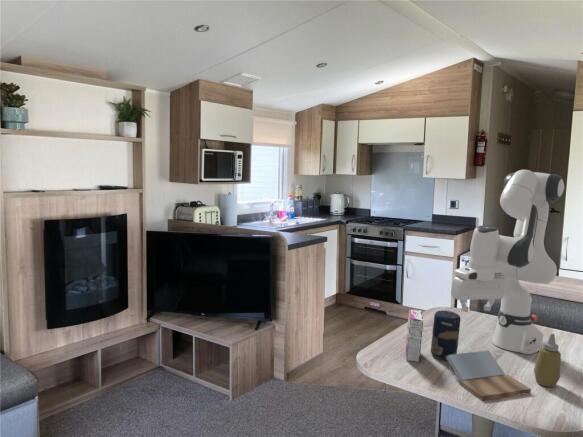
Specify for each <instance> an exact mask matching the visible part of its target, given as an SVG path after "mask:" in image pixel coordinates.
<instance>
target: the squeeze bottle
mask: <svg viewBox="0 0 583 437" xmlns="http://www.w3.org/2000/svg"><path fill="white" fill-rule="evenodd" d="M543 342H544V343H543V347H542V348H540V349H539V352H537V353H538V355H537V357H536V361H535V365H534V369H533V373H534V377H535V382H536V383H537V384H538V383H539V385H540V384H541V385H540V386H542V385H543V387H546V386H548V387H547V388H554V387H556V385H557V383H558V382H559V380H560V378H561V360H562V359H561V358H562V357H561V354H562V353H561V352H560V351H559V349H560V348H559V344H557V343H556V336H555V333H550V335H549V336H548V339H547V341H543ZM553 386H554V387H553Z"/></svg>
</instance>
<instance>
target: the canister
mask: <svg viewBox="0 0 583 437" xmlns="http://www.w3.org/2000/svg"><path fill="white" fill-rule="evenodd" d="M461 320H462V319H461V316H460V315H459V314H458V313H457V312H453V311H450V310H437V311H436V312H435V313H434V317H433V324H432V335H431V336H432V337H431V343H430V344H431V346H430V353H431V355H433V356H434V357H435V358H437V359H440V360H447V358H446V357H447V356H448V355H453V354H458V346H459V337H460V328H461ZM447 361H448V360H447Z"/></svg>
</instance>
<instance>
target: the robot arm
mask: <svg viewBox="0 0 583 437" xmlns="http://www.w3.org/2000/svg"><path fill="white" fill-rule="evenodd" d="M502 189H503V190H502V193H501V194H500V198H499V204H500V207H501V209H502V210H503V211H504V212H505V213H506V215H509V216H510V217H511V218H514V219H516V221H515V225H514V226H515V227H514V230H513V237H512V236H507V235H506V236H505V235H502V234H499V229H498V227H495V226H493V225H478V226H476V227H475V228H474V230H473V233H472V238H471V241H470V242H471V243H470V247H469V248H470V249H469V253H470V256H469V260H468V263H467V265H464V266H462V267H460V268H457V269H455V270H454V275H455V277H454V278H453V280H452V283H451V289H450V294H451V297H452V299H455V300H457V301H459V304H460V306H461V312H464V313H466V312H469V308H470V307H469V306H468V305H467V304H466V303H468V300H469V301H470V300H471V301H472V300H486V301H487V302H486V304H484V305H483V311H485V312H491V310H492V306H493V304H494V303H495V301H496V300H501V301H500V308H499V310H498V316H497V318H498V320H497V322H496V327H495V331H494V333H493V334H492V339H491V343H492V344H493V345H495V346H496V347H498V348H501V349H503V350H506V351H510V352H515V353H521V354H525V355H531V354H535V353H539V352H538V351H539V349H540V348H542V347H543V343H544V342H545V341H544V335H543V332H542V331H541V330H540V329H539V328H538V327H537V326H535V325H534V323H533V321H535V322H536V321H537V320H538V315H534V314H531V310H532V309H531V308H532V301H533V298H532V295H531V293H530V292H529V291H528V290H526V289H525V288H524V287H522V285H521V284H520V281H522V282H528V283H531V284H538V285H539V284H540V285H545V284H546V285H549V284H551V283H552V282H553V281H554V280H555V279H556V278H557V277H556V276H557V274H558V269H557V265H556V263H555V261H554V260H553V259H552V258H551V257H550V256H549V255H548V253H547V251H546V248H545V235H546V228H547V224H548V220H549V219H548V218H549V213H550V212H549V210H550V206H551V205H553V203H554V202H557V201H558V200H559V199H560V198H561V197H562V196H563V193H564V191H565V184H564V178H563V177H562V176H561V175H559V174H556V173H546V172H539V171H538V172H537V171H532V170H529V169H520V170H517V171H516V172H510V173H509V174H507V175H506V177H505V178H504V180H503V186H502Z"/></svg>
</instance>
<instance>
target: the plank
mask: <svg viewBox="0 0 583 437" xmlns="http://www.w3.org/2000/svg"><path fill="white" fill-rule="evenodd" d="M446 358H447V361H448V363H449V365H450V366H451V367H452V370H453V371H454V373H455V375H456V376H457V379H458V380H459V381H460V382H461V381H466V380H473V379H480V378H488V377H495V376H503V375H506V373H505V372H504V371H503V369H502V367H501V366H500V365H499V363H498V362H497V360H496V359H495V357H494V356H493V354H492V353H491V352H490V350H483V351H481V350H480V351H472V352H471V351H470V352H464V353H463V352H462V353H457V354H453V355H448V356H447V357H446Z"/></svg>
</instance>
